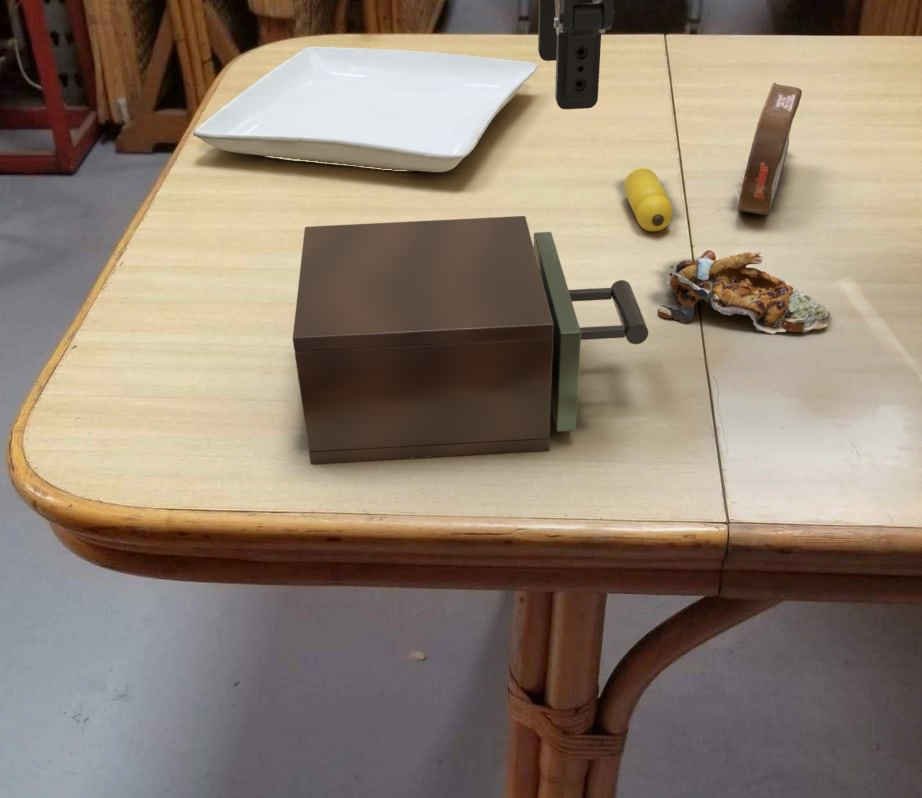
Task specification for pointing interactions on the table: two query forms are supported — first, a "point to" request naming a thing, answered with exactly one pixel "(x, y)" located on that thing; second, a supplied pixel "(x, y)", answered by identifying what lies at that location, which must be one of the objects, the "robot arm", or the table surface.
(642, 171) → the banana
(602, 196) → the table surface
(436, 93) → the square plate
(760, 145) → the brown snack box
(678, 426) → the table surface
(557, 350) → the drawer
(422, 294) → the cabinet
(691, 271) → the brown sculpted figurine
